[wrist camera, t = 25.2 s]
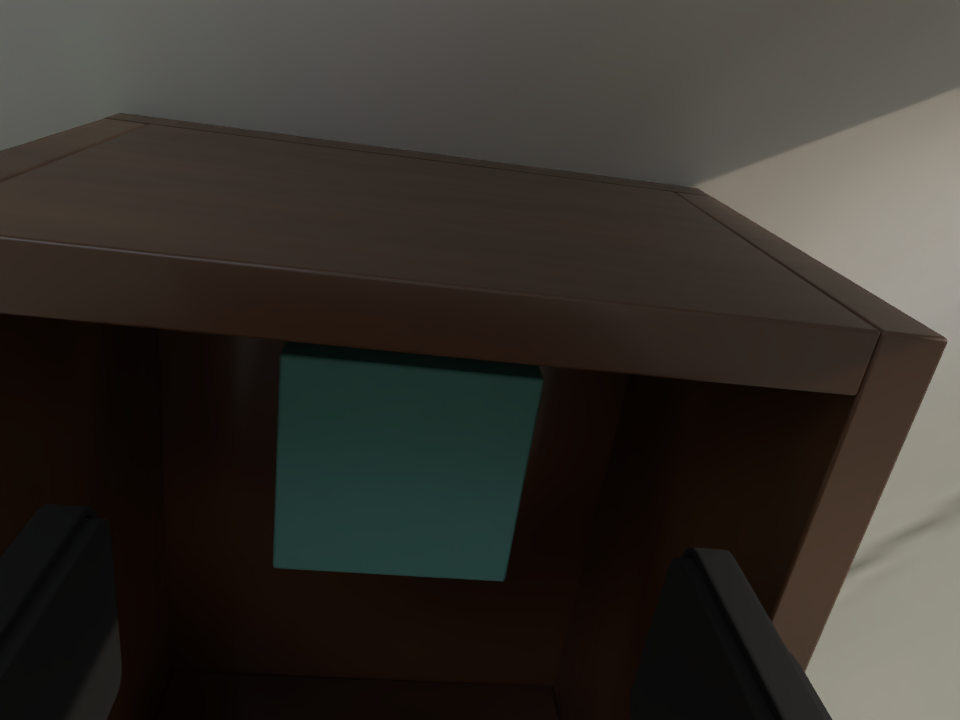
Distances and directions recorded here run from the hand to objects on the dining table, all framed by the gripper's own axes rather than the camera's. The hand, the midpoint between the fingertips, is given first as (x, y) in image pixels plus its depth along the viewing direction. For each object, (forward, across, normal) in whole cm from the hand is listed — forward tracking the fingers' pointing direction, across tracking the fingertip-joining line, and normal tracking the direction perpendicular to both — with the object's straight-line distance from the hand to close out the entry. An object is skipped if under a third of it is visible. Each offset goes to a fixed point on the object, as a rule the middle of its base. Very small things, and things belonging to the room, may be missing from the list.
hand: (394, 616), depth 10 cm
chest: (+9, 0, +3) cm, 9 cm away
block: (+8, 0, 0) cm, 8 cm away
